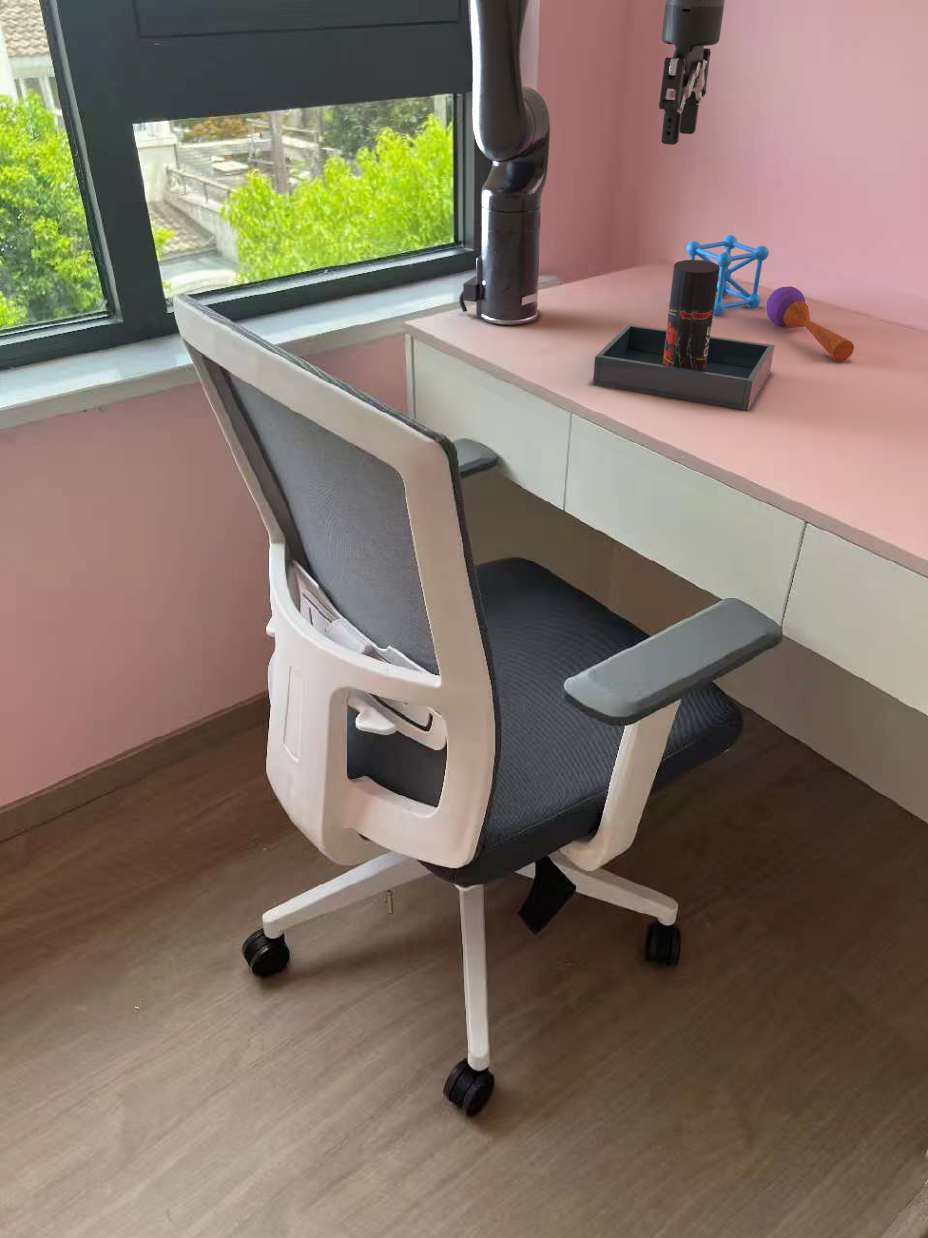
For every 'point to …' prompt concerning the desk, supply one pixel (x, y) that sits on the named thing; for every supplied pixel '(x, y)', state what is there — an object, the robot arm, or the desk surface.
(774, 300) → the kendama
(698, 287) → the deodorant
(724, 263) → the molecular structure
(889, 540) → the desk surface
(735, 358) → the dark grey tray
